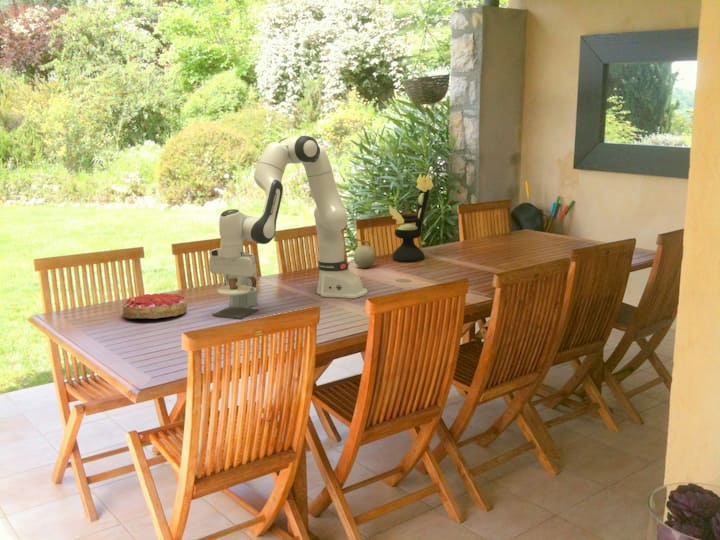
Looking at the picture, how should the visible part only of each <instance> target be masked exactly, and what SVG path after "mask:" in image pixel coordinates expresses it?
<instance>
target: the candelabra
mask: <svg viewBox="0 0 720 540" xmlns="http://www.w3.org/2000/svg"><path fill="white" fill-rule="evenodd" d="M418 175H419V176H418V177H417V179H416V184H417V185H416V186H415V188H416V189H417V190H419V195H418V198H417V203H418V204H417V211H416V215H414V214H400V212H398V210H397V208H395V207H392V205H390V204H388V206H389V214H390V215H392V217H391V219H392V220H395V221H396V223H395V224H396V225H400V226H399V227H397V228H396V229H395V230H394V235H395V236H396V238H398V239H402V243H401V245H400V246H398V247H397V248H396V249H395V250H394V252H393V253H392V256H391V258H392V259H393V260H394V261H396V262H402V263H412V262H413V263H414V262H420V261H422V260H424V259H425V255H424V252H423V251H422V250H421V248H419V247H418V246H417V245H416V244H415V241H414V240H415V239H418V238H420V237H421V236H422V234H423V233H422V230H423V229H422V227H423V222H424V219H425V218H424V217H425V215H426V214H425V213H426V210H427V206H428V203H429V202H428V201H429V198H430V197H429V196H430V190H433V189H432V188H434V184H433V180H432V177H431V176H430V172H428V173H427V175H425V174H423V175H422V174H421V173H419V174H418ZM414 223H415V224H414Z"/></svg>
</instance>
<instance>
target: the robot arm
mask: <svg viewBox="0 0 720 540" xmlns="http://www.w3.org/2000/svg"><path fill="white" fill-rule="evenodd" d="M288 164H289V165H290V164H295V165H296V164H302V165H303V167H304V170H305V175H306V178H307V184H308V185H309V190H310V194H311V196H312V198H313V200H314V203H315V208H314V211H313V215H314V220H315V221H314V222H315V228H316V230H315V231H316V235H317V243H318V262H317V265H318V269H317V271H318V283H317V288H316V294H318V295H320V297H323V298H324V297H325V298H346V299H348V298H349V299H356V298H360V297H363V296H365V295H367V294H368V292H369V291H368V289H367V288H364V287H363V282H362V280H361V278H360V277H359V276H358V275H357V274H356V273H355V272H354V271H352V270H350V269H349V265H350V263H351V262H350V261H349V262H347V261H346V259H345V242H344V238H343V234H342V230H343V229H345V228H346V226H347V225H348V222H349V218H348V217H349V216H348V214H347V212H346V209H345V206H344V203H343V201H342V200H343V199H342V198H341V195H340V193H339V190H338V187H337V185H336V181H335V176H334V172H333V170H332V165H331V162H330V160H329V157H328V155H327V153H326V151H325V149H324V148H323V147H320V146H319V144H318V142H317V140H316V139H315V138H314V137H312V136H309V135H294V136H290V137H285V138H281V140H279V141H278V142H277V141H273V142H272V141H271V142H269V143H268V144H267V145H266V147H265V148H264V149H263V151H262V153H261V155H260V158H259V159H258V161H257V165H256V168H255V171H254V174H253V176H254V177H253V178H254V181H255V183H256V186H258V187H259V188H260V189H262V190H263V191H264V192H265V195H266V197H265V201H264V205H263V209H262V213H261V215H260V216H259V217H257V216H252V215H251V216H250V215H248V214H245V213H243V212H242V211H240V209H237V208H236V209H235V208H234V209H232V208H231V209H227V210H223V212H222V213H220V214H219V222H218V223H219V224H218V227H219V230H218V231H219V236H220V243H219V246H218V247H217V248H214V249H211V250H209V256H210V257H209V260H208V268H209V269H208V271H209V272H210V273H211V274H216V275H222V278H223V280H224V279H225V281H226V285H228V286H230V283H229V278H228V276H229V275H236V276H238V278H239V280H238V282H236V286H238V287H240V286H241V281H242V280H243V278H244V276H247V277H252V276H254V277H255V276H256V275H257V274H258V273H257V272H258V270H257V263H256V256H255V255H254V254H253V253H251V252H244V242H243V241H245V240H246V241H249V242H254V243H258V244H260V245H266V244H269V243H270V242H271V241H272V240H273V239H274V237H275V235H276V230H277V220H278V215H279V210H280V207H281V202H282V197H283V193H284V186H283V184H282V183H283V181H282V180H283V175H284V173H285V170H286V167H287V166H288Z"/></svg>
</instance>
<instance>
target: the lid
mask: <svg viewBox="0 0 720 540" xmlns="http://www.w3.org/2000/svg"><path fill="white" fill-rule="evenodd" d="M236 282H238V280H237V278H230V279H229V283H230V286H228V285H226V286H225V285H222V286H219V287H218V288H216V289H217V290H216V291H217V292H216V293H217V294H218V295H220V296H221V295H222V296H229V297H230V296H231V295H242V294H246V293H249V292H250V291H251V290H250V286H247V285H241V286H240V287H238V286H236Z"/></svg>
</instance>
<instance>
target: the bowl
mask: <svg viewBox="0 0 720 540" xmlns="http://www.w3.org/2000/svg"><path fill="white" fill-rule="evenodd" d="M257 289H258V288H256V287H255V288H254V287H250V290H251V291H250V292H249V293H246V294H242V295H231V296H230V295H229V303H230V306H234V307H243V308H251V307H254V306H257V305H258V292H257V291H258V290H257ZM256 304H257V305H256ZM250 306H251V307H250Z"/></svg>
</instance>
